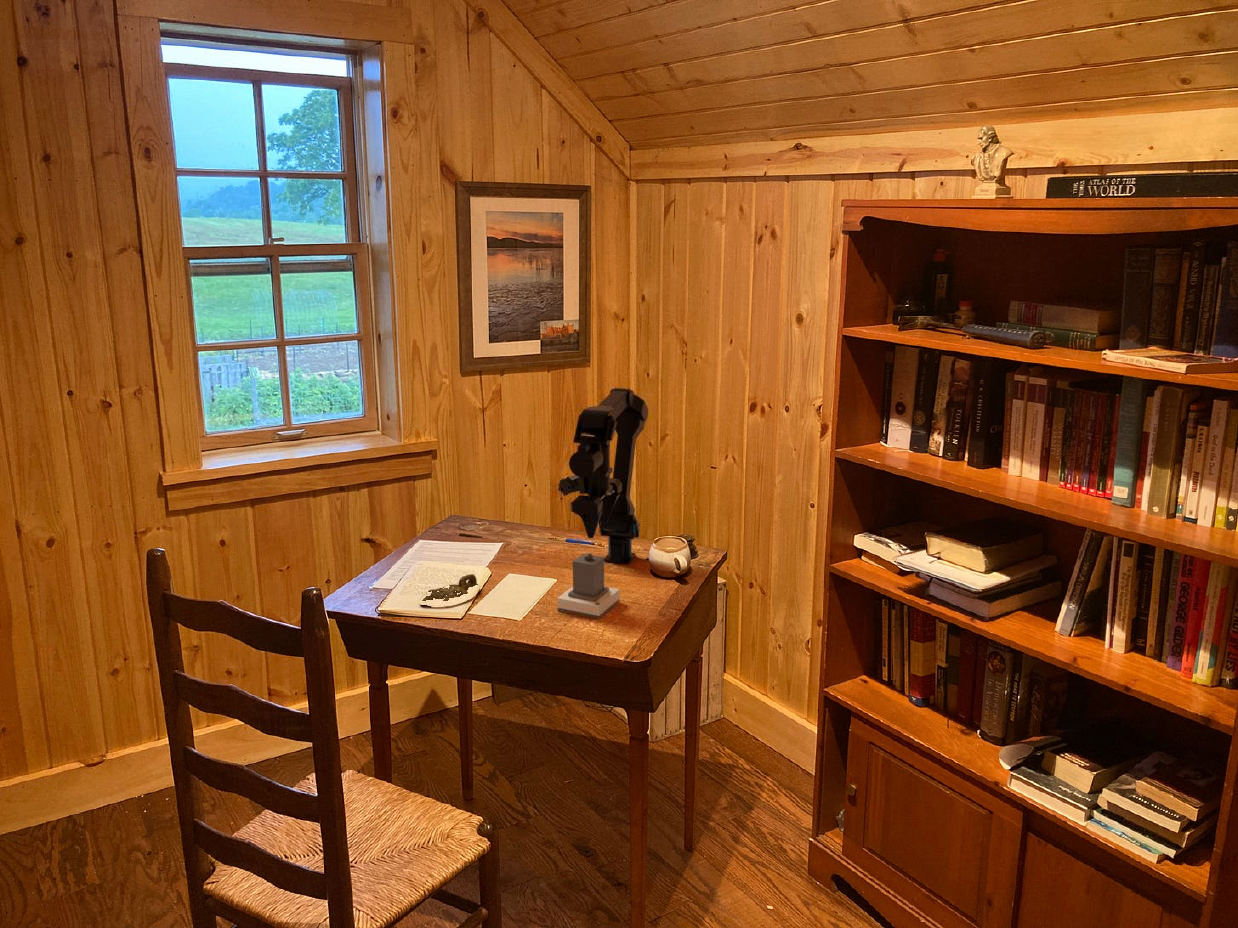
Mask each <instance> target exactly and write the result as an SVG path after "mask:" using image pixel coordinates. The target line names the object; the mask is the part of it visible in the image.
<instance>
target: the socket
mask: <svg viewBox="0 0 1238 928" xmlns="http://www.w3.org/2000/svg"><path fill="white" fill-rule="evenodd" d="M608 587H609V591H608V592H607V593H606V594H605V595H603V596H602V597H601V598H600V599H599V600H597V601H596V602H593V601H588V600H583V599H578V598H572V597H568V593H569V592H570V591H572V590H573V586H571V587H570V588H569V589H568V590H566V591H565V592H564V593H562V594H561V595H560V596H558V597H557V599H556V600H557V611H558V612H562V613H565V614H570V615H571V614H572V615H576V616H581V617H584V618H585V617H586V618H591V619H595V620H600V619H602V618H603V616H605V615H606V614H607V613H609V612H610V611H611V610H612V609H613V608H614V607H615V606H617V605H618V604H619V603H620V589H619V588H614V587H610V586H608Z"/></svg>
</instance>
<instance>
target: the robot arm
mask: <svg viewBox="0 0 1238 928" xmlns="http://www.w3.org/2000/svg"><path fill="white" fill-rule="evenodd" d="M648 416H649V409H648V406H647V404H646V401H645V400H644V398H643V399H642V398H641V397H640V396H639V395H636V394H635V392H634V390H633V389H630V388H622V387H615V388H611V390H610V392H609V394H608V395H607V396H606V397H604V399H602V401H601V402H600V403H599V404H598V405H596V406H595V405H594V406H593V405H592V406H587V407H585V408H584V409H583V410H582V411H581V412H580V413H579V415H578V418H577V423H576V427H575V433H574V437H573V443H574V444H578V445H577V451H575V452H574V453H573V454H572V455H571V457H569V461H568V467H569V469H570V472H571V473H572V474H573V475H569V476H566V477H565V478H564V477H562V478H561V479H559V482H558V484H557V485H558V487H557V491H559V492H560V493H561V494H562V495H563V496H564V497H565V496H568V495H570V494H573V493H576V492H579V494H580V495H578V496H577V497H575V499H574V500H572V501H571V502H570V512H571V513H574V514H575V515H578V516H579V517H580V518H581V521H582V522H583V526H584V529H585V531H586V535H587V538H588V539H593V538H594V537H595V534H596V531H597V528H598V526H599V532H600V533H599V534H600V536H601V537H607V541H608V542H607V543H608V544H607V553H608V554H607V555H606V556H605V557H604V562H606V563H607V562H609V563H614V564H615V563H617V564H623V565H630V563H631V562H632V560H634V559H635V557H636V556H637V553H636V552H632V541H633V540H635V539H637V538H639V537H640V523H639V521H638V518H637V516H636V514H635V513H636V507H635V506H634V504H633V502H632V500H631V488H632V480H633V473H634V472H633V471H634V464H635V463H634V460H635V455H636V454H635V453H636V445H637V439H638V437H639V436H640V435H641V433H642V432H643V430H644V429H645V423H646V421H647V419H648V418H649V417H648ZM615 433H616V435H617V436H616V437H617V438H616V446H615V457H614V465H613V467H611V463H610V462H611V456H610V455H611V453H610V451H611V445H610V443H611V441H612V442H613V439H614V435H615ZM611 474H612V477H611Z"/></svg>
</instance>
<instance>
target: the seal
mask: <svg viewBox="0 0 1238 928" xmlns="http://www.w3.org/2000/svg"><path fill="white" fill-rule="evenodd" d="M477 583H478V581H477V577H476V575H475V574H473V573H470V574H466V575H464V576H461V577H460V579H459V581H458V584H448V585H449V586H450V587H449V589H448V588H444V587H445V586H446V585H445V586H442V587H443V588H444V589H443V588H441V587H438V588H439V589H438V588H435V589H430V590H428V592H431V591H432V593H431V595H430V596H426V597H425V598H424V599H423V600H422V601H426V600H433V598H435V599H444V598H445V599H444V600H443V601H448V600H449V598H454V597H460V596H461V595H463V594H467V593H468V592H467V590H468V588H469V587H473V586H475V585H478V584H479V583H478V584H477ZM437 591H439V592H437ZM455 591H456V592H455ZM460 592H461V593H460ZM457 593H460V594H458V595H457ZM446 595H447V596H446Z"/></svg>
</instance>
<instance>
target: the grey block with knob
mask: <svg viewBox="0 0 1238 928" xmlns="http://www.w3.org/2000/svg"><path fill="white" fill-rule="evenodd" d="M604 558H605V557H604V556H600V555H599V556H598V555H594V554H592V553H582V554H581V555H579V556H578V557H577V558H575V559H574V560H572V587H573V590H572V591H570V592H569V593H568V597H572V598H578V599H583V600H588V601H593V602H596V601H597V600H599V599H600V598H601V597H602V596H603V595H605V594H606V593H607V592H608V591H609V587H610V586H605V561H604Z"/></svg>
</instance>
